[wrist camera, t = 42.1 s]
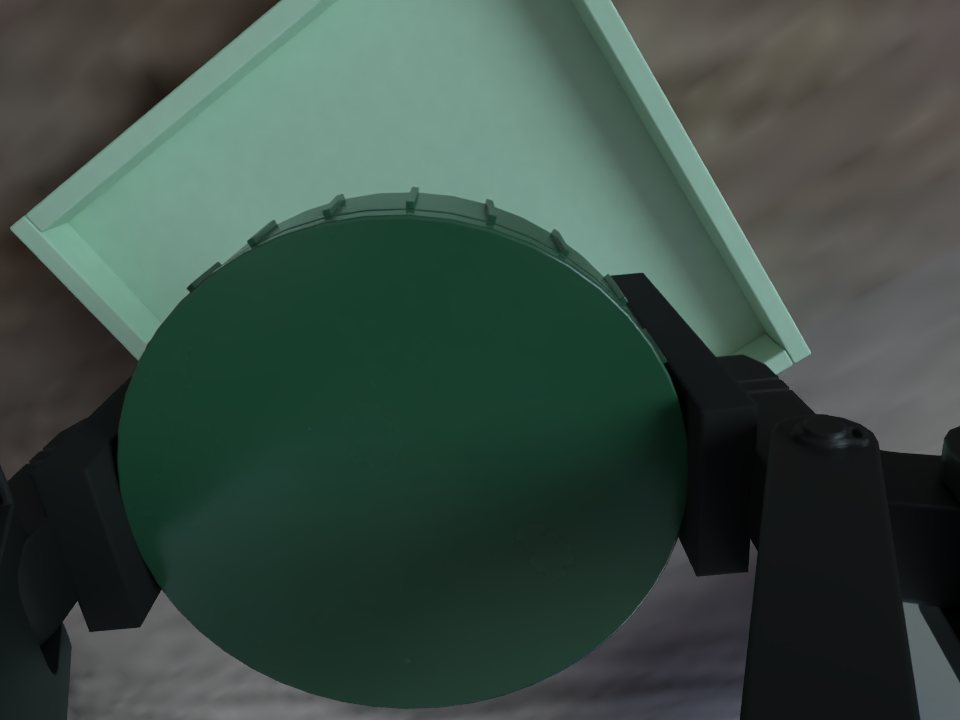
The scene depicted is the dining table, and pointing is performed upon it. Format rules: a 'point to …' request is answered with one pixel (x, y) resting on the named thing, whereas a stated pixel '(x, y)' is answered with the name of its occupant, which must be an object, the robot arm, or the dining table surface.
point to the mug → (931, 670)
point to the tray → (412, 158)
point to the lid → (404, 453)
